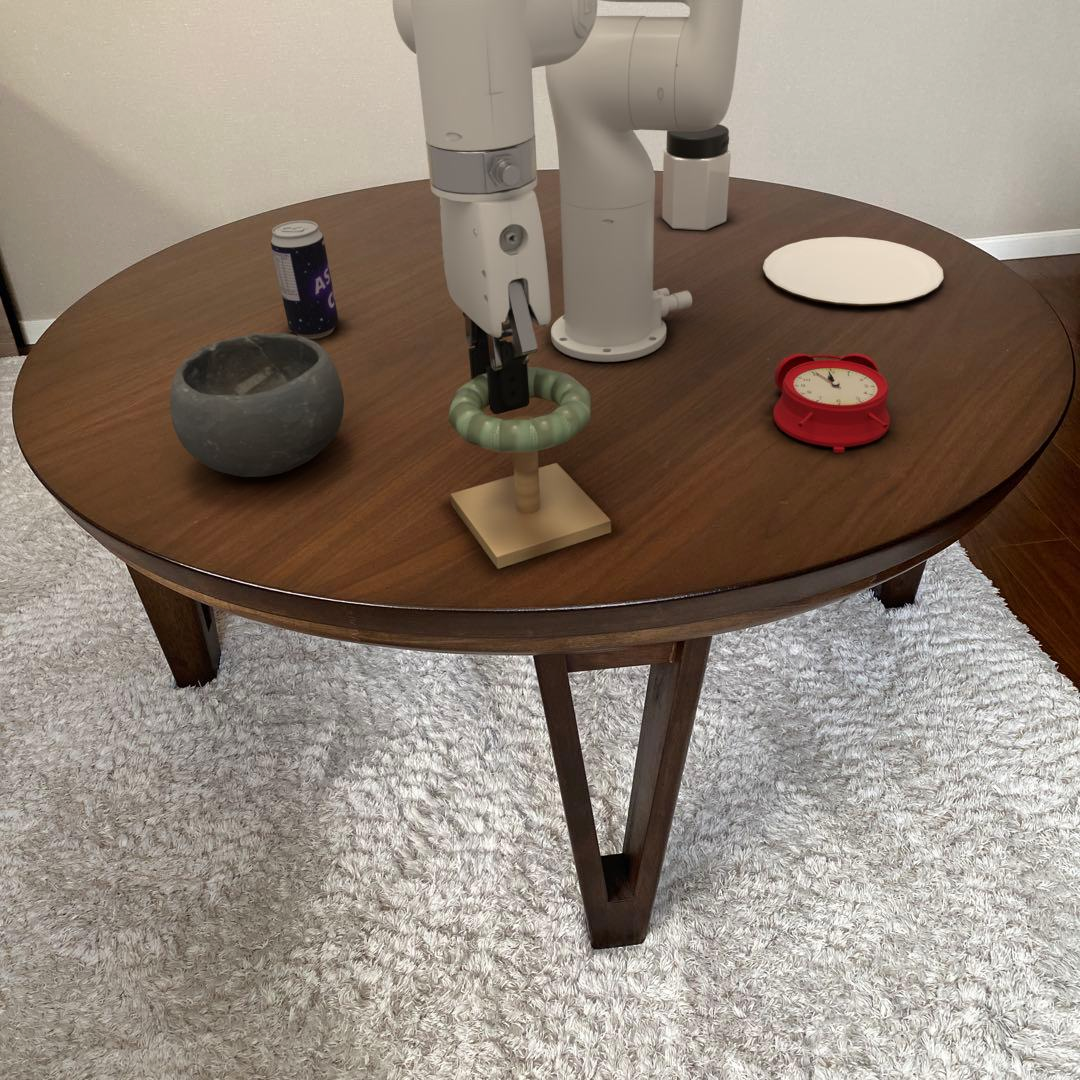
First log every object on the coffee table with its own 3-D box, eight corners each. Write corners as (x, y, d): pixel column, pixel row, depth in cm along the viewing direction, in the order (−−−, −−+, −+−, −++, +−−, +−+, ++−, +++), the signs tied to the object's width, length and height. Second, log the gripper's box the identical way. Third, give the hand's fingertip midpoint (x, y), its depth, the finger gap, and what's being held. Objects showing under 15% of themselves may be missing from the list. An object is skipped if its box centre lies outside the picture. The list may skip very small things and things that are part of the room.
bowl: (159, 464, 93) (127, 367, 87) (295, 405, 101) (275, 312, 95) (243, 527, 84) (214, 423, 78) (385, 456, 92) (368, 357, 86)
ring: (551, 377, 83) (550, 350, 82) (616, 434, 75) (617, 405, 74) (430, 409, 80) (427, 382, 78) (486, 473, 72) (483, 444, 70)
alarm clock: (783, 420, 86) (772, 314, 96) (775, 471, 91) (765, 365, 101) (907, 421, 85) (884, 313, 95) (893, 473, 90) (871, 365, 100)
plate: (981, 290, 115) (983, 280, 114) (827, 326, 109) (829, 315, 109) (869, 235, 131) (870, 225, 130) (730, 263, 125) (730, 253, 125)
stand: (557, 473, 88) (552, 380, 83) (611, 532, 81) (610, 433, 75) (451, 505, 85) (439, 410, 79) (497, 569, 78) (488, 469, 72)
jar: (734, 227, 136) (740, 135, 129) (676, 234, 134) (679, 142, 127) (710, 207, 143) (715, 118, 136) (655, 213, 142) (657, 125, 134)
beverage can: (329, 342, 112) (309, 237, 105) (282, 340, 113) (259, 236, 106) (347, 321, 117) (329, 219, 110) (301, 319, 118) (280, 218, 111)
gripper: (584, 185, 65) (589, 432, 76) (487, 131, 77) (503, 350, 88) (477, 205, 62) (497, 458, 73) (394, 146, 74) (422, 370, 85)
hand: (500, 397), depth 80 cm, fingers closed on ring, 2 cm apart
